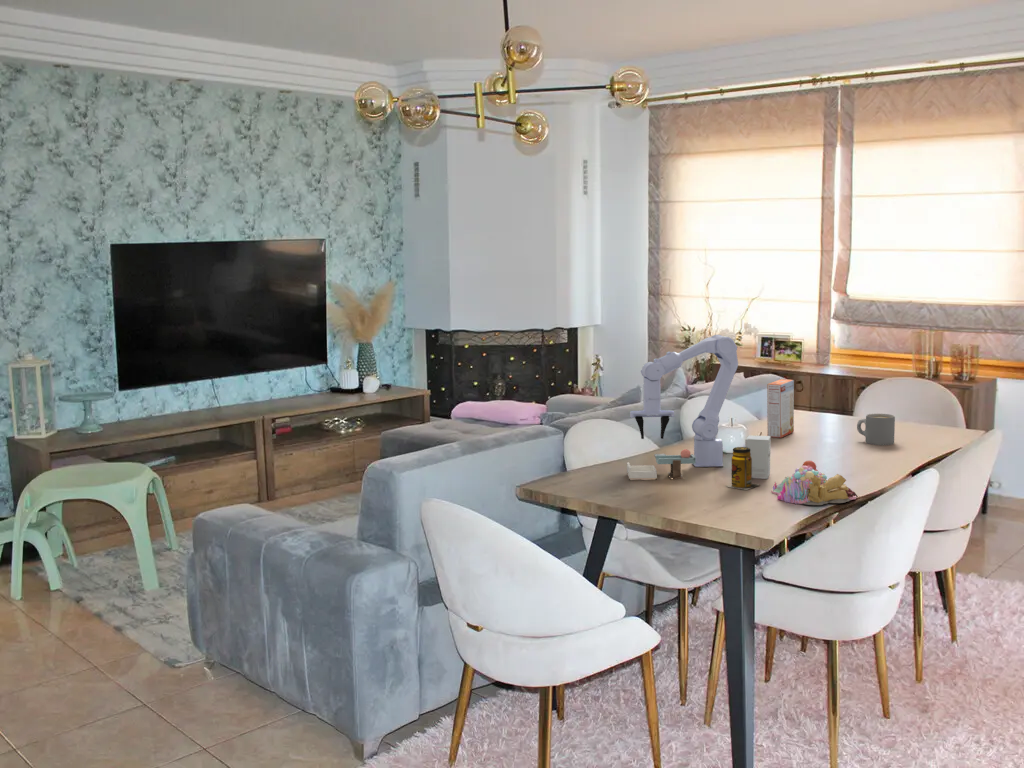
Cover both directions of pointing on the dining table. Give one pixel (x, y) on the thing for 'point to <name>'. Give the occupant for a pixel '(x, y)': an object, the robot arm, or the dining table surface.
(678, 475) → the fulcrum
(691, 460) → the lever
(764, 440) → the supplement box
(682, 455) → the ball
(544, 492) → the dining table surface
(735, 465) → the condiment
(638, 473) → the dish
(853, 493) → the candy landscape model
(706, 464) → the robot arm
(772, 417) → the cracker box
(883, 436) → the coffee mug
